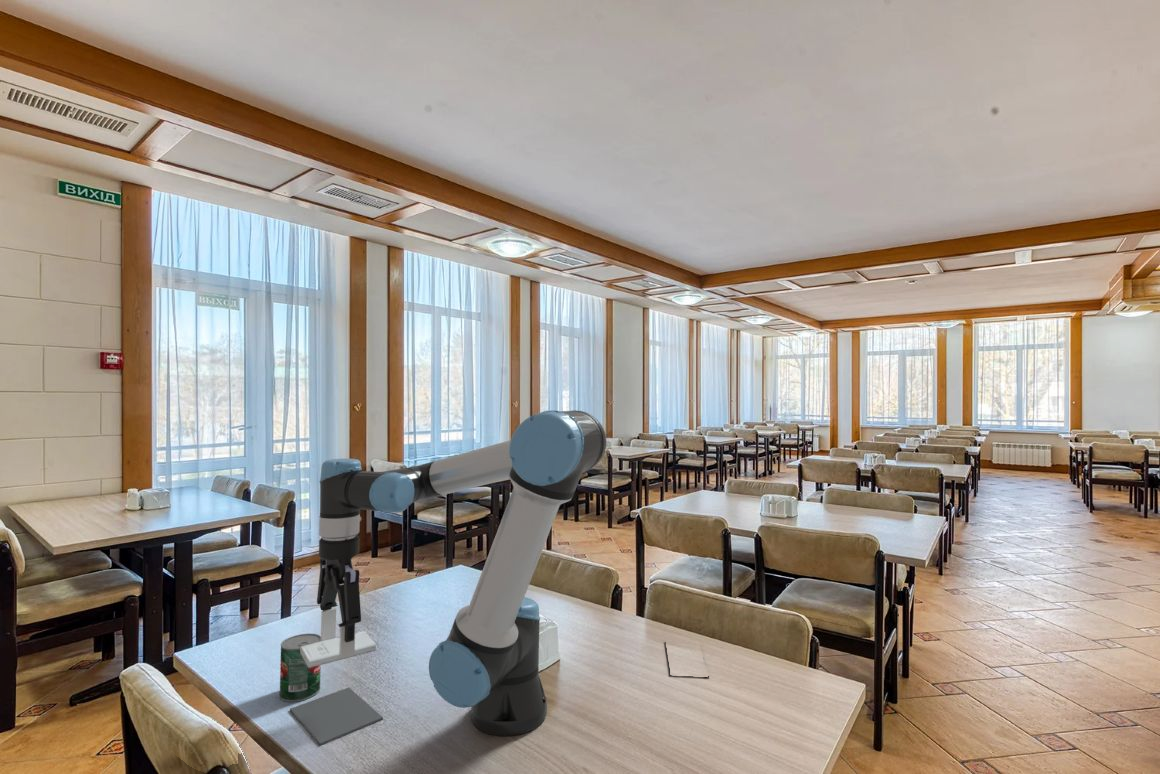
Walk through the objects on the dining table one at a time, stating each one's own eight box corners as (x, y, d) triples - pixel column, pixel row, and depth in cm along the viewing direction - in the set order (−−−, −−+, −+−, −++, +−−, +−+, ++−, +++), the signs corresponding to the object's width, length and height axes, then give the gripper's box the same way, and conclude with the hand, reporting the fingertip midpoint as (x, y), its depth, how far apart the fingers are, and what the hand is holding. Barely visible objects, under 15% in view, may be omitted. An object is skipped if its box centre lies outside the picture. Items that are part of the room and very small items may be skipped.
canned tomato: (274, 691, 121) (275, 640, 121) (312, 679, 126) (313, 630, 127) (286, 706, 115) (287, 652, 115) (326, 692, 121) (327, 641, 121)
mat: (382, 719, 111) (382, 717, 111) (320, 745, 102) (320, 743, 102) (348, 689, 122) (348, 687, 122) (290, 710, 114) (290, 708, 114)
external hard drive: (375, 652, 113) (308, 669, 106) (363, 637, 120) (299, 653, 112) (376, 643, 113) (309, 660, 106) (363, 630, 120) (300, 644, 112)
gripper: (381, 543, 108) (379, 661, 108) (337, 524, 123) (335, 627, 123) (342, 550, 103) (340, 674, 103) (301, 529, 118) (298, 637, 118)
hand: (337, 648), depth 113 cm, fingers closed on external hard drive, 9 cm apart
